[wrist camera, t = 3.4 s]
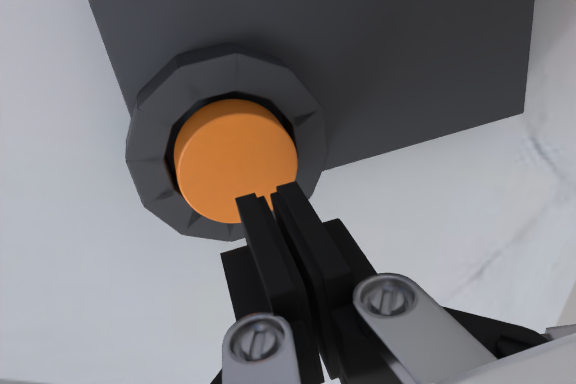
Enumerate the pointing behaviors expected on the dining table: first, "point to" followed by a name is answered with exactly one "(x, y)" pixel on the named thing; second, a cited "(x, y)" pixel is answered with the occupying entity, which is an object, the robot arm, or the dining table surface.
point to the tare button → (232, 157)
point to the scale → (310, 78)
